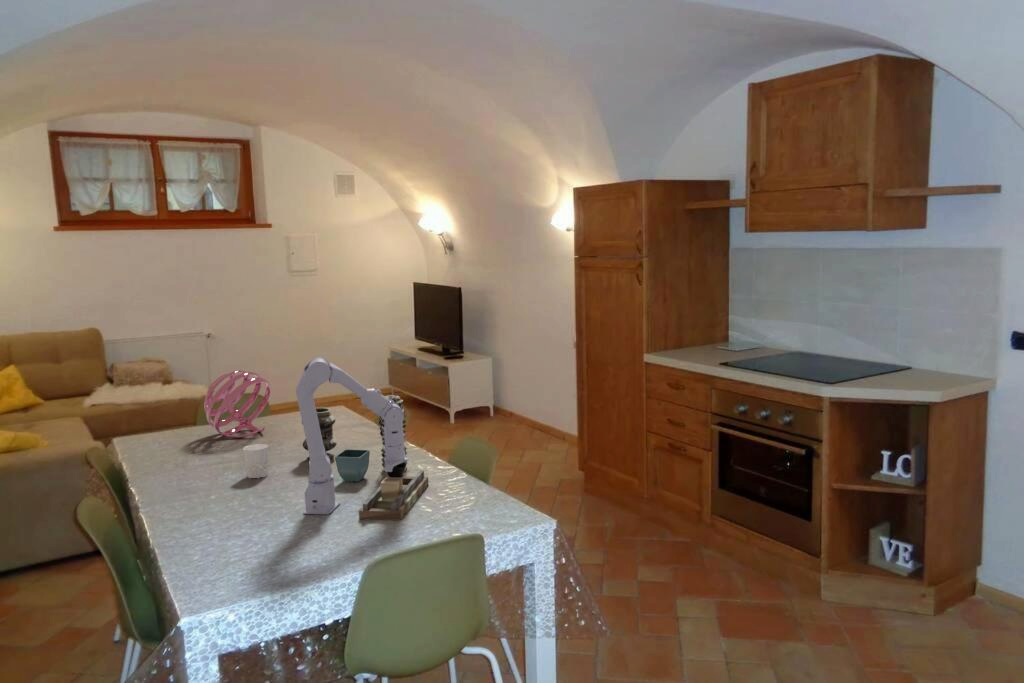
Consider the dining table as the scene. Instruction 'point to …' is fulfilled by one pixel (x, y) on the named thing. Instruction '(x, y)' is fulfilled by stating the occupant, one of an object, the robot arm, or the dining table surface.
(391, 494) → the maple block
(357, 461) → the flower pot
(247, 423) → the pink slatted sphere
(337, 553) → the dining table surface
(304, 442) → the apothecary jar
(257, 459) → the white cup
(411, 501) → the trap box
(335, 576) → the dining table surface
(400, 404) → the black and white cylinder
